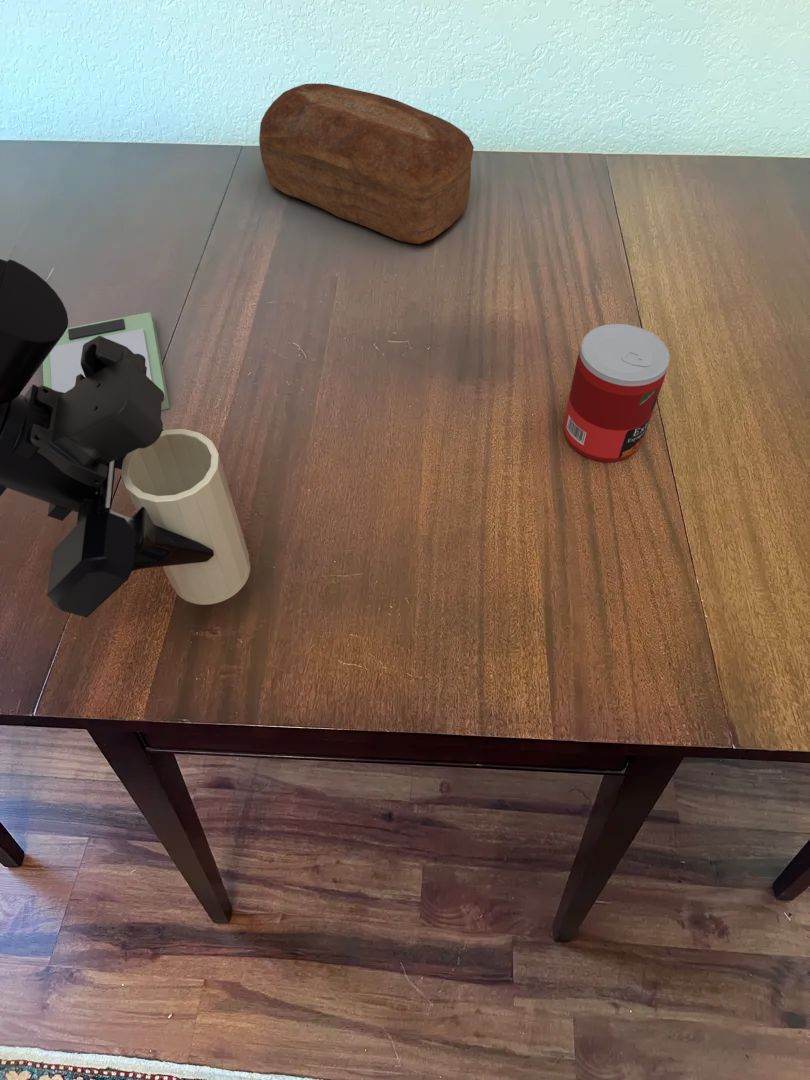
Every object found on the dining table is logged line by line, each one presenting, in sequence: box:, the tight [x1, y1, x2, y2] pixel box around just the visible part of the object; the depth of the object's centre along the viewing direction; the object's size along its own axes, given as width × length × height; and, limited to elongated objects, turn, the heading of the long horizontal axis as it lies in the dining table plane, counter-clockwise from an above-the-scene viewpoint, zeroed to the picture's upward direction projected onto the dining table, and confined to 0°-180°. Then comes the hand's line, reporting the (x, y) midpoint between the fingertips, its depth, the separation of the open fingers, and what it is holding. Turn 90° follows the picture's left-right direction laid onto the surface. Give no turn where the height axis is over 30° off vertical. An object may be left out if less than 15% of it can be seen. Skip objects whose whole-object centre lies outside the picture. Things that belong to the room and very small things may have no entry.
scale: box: [42, 311, 171, 412], centre depth 83 cm, size 14×12×3 cm
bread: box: [258, 82, 475, 245], centre depth 99 cm, size 14×28×12 cm, turn 55°
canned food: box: [563, 323, 670, 463], centre depth 74 cm, size 8×8×11 cm
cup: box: [120, 428, 251, 606], centre depth 57 cm, size 6×6×13 cm
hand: (210, 519), depth 57 cm, fingers closed on cup, 6 cm apart
